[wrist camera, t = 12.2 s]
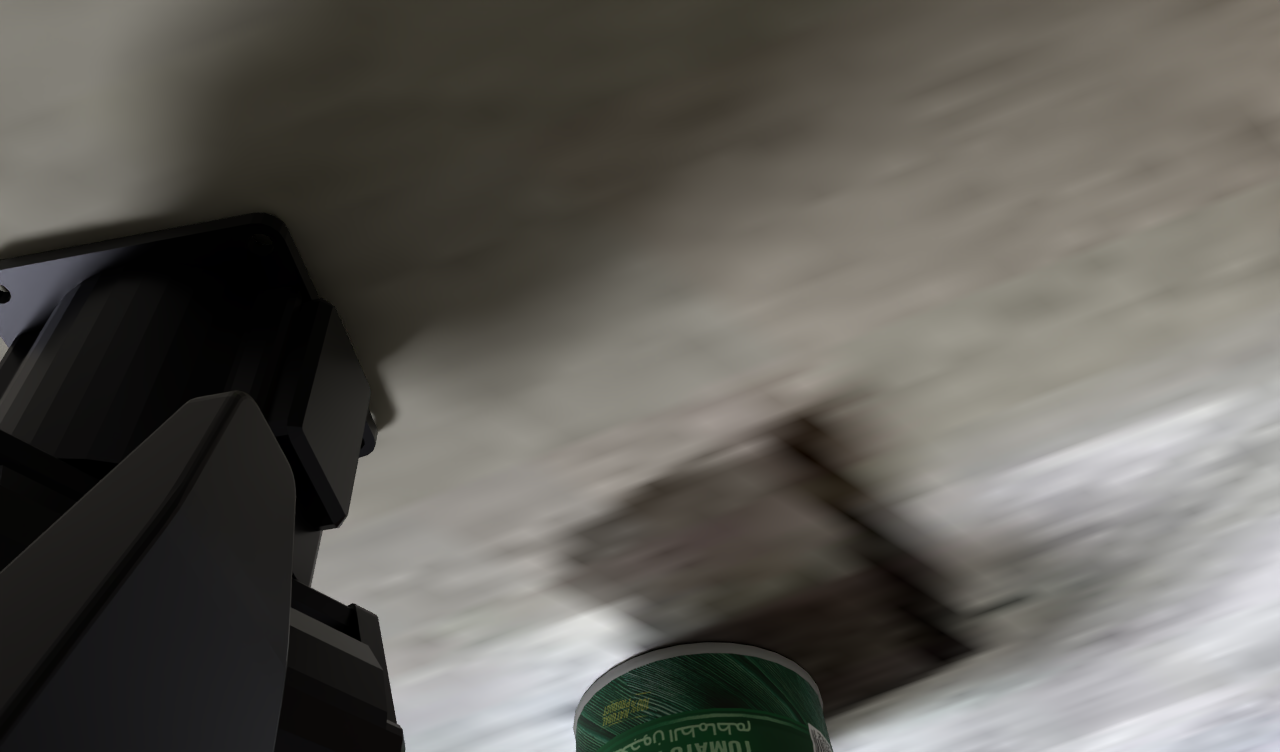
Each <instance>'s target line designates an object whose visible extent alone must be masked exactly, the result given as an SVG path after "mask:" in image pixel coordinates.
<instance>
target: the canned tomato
mask: <svg viewBox="0 0 1280 752" xmlns="http://www.w3.org/2000/svg"><path fill="white" fill-rule="evenodd" d="M573 730H574V735H575V739H576V752H833V749H832V746H831V743H830V740H829V736H828V732H827V728H826V724H825V719H824V715H823V701H822V698H821V695H820V692H819V689H818V686H817V684H816V683H815V682H814V680H813V679H812V678H811V676H810V675H809V673H808V672H806V671H805V670H804V669H803V668H801V667H800V666H799V665H798V664H796V663H795V662H793V661H791V660H789V659H787V658H785V657H783V656H781V655H779V654H777V653H775V652H772V651H768V650H765V649H762V648H758V647H755V646H749V645H742V644H735V643H715V642H703V643H693V644H684V645H677V646H672V647H668V648H664V649H659V650H655V651H652V652H649V653H646V654H643V655H641V656H638V657H635V658H632V659H630V660H628V661H626V662H625V663H623V664H621V665H619V666H617V667H615V668H613V669H611V670H610V671H609V672H607V673H606V674H605V675H604V676H602V677H601V678H600V679H598V680H597V681H596V682H595V683H594V684H593V685H592V686H591V687H590V688H589V689H588V691H587V692H586V693H585V694H584V695H583V696H582V698H581V700H580V703H579V705H578V707H577V709H576V711H575V718H574V726H573Z"/></svg>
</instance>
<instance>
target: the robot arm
mask: <svg viewBox="0 0 1280 752" xmlns="http://www.w3.org/2000/svg"><path fill="white" fill-rule="evenodd" d="M254 234H263V235H265V236H268V237H269V238H270V239H271V240H272V242H273V243H272V244H270V245H266V244H261V243H259V242H257V241H256V240H255V239H254V238H253V237H252V235H254ZM0 285H3V286H5V287H6V288H7V289H8V290H9V291H10V292H3V291H1V290H0V336H1V337H2V339H3V340H4V342H5V343H6V345H7V346H8V347H9V349H8V351H7V352H6V354H5V355H4V357H3V359H2V360H1V362H0V752H405V741H404V735H403V729H402V728H401V727H400V725H398V724H397V722H396V716H395V710H394V705H393V699H392V694H391V688H390V682H389V677H388V671H387V666H386V660H385V654H384V649H383V643H382V637H381V632H380V626H379V621H378V617H377V615H375V614H373V613H372V612H370V611H368V610H366V609H364V608H362V607H360V606H358V605H356V604H353V603H352V604H350V605H348V606H346V605H344V604H342V603H340V602H338V601H336V600H334V599H332V598H330V597H328V596H326V595H324V594H323V593H321V592H319V591H317V590H315V589H313V588H311V583H312V578H313V574H314V569H315V564H316V559H317V555H318V550H319V545H320V540H321V536H322V531H323V530H327V529H333V528H339V527H340V526H341V525H342V523H343V522H344V520H345V519H346V517H347V515H348V511H349V506H350V501H351V496H352V490H353V485H354V480H355V474H356V469H357V464H358V459H359V458H360V457H363V456H366V455H368V454H370V453H371V452H372V451H373V450H374V447H375V445H376V439H377V427H376V425H375V422H374V420H373V418H372V416H371V413H370V411H369V409H368V406H369V401H370V395H371V389H370V386H369V384H368V382H367V380H366V377H365V375H364V373H363V370H362V368H361V366H360V364H359V361H358V359H357V357H356V354H355V352H354V350H353V347H352V345H351V343H350V341H349V338H348V336H347V334H346V331H345V329H344V327H343V325H342V322H341V320H340V318H339V315H338V313H337V311H336V309H335V307H334V306H333V305H332V304H330V303H329V302H328V301H326V300H325V299H323V298H320V299H319V297H318V295H317V292H316V290H315V288H314V286H313V283H312V281H311V279H310V277H309V274H308V272H307V270H306V268H305V265H304V263H303V261H302V259H301V256H300V254H299V252H298V250H297V247H296V245H295V243H294V241H293V238H292V236H291V234H290V232H289V229H288V228H287V227H286V225H285V224H284V222H283V221H281V220H280V219H278V218H277V217H276V216H273V215H270V214H267V213H251V214H246V215H241V216H235V217H230V218H225V219H219V220H214V221H209V222H203V223H198V224H193V225H187V226H182V227H177V228H171V229H166V230H160V231H155V232H150V233H144V234H139V235H134V236H128V237H123V238H118V239H112V240H107V241H102V242H96V243H91V244H86V245H80V246H75V247H69V248H64V249H59V250H53V251H48V252H43V253H37V254H32V255H27V256H21V257H16V258H11V259H5V260H0Z"/></svg>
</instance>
